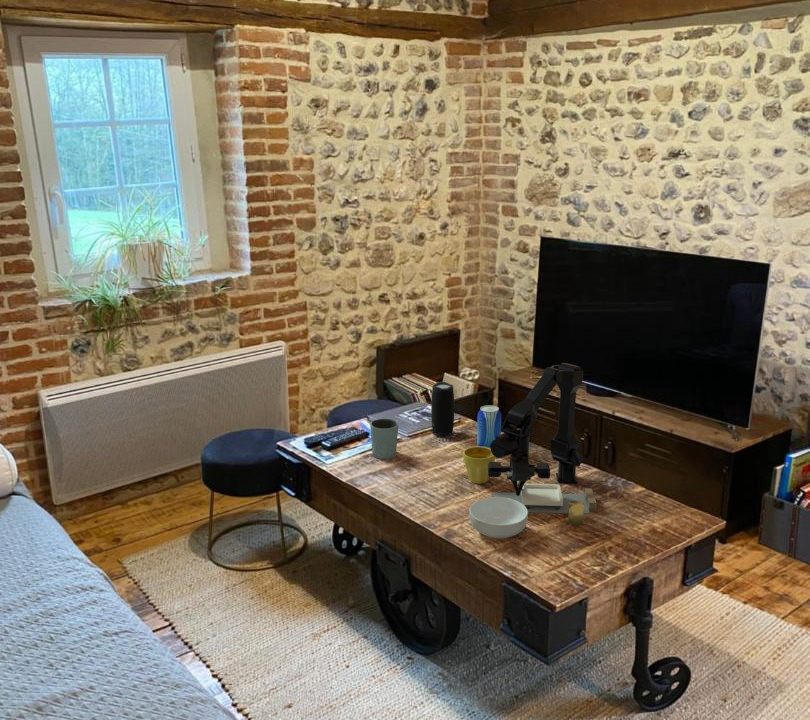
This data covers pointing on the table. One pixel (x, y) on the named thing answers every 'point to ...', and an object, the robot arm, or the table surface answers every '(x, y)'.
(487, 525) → the cereal bowl
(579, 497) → the mat
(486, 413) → the beer can
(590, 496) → the end stop
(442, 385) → the portable speaker
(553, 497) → the shallow square tray
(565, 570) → the table surface
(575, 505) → the solid brass cylinder
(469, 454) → the plant pot
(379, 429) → the green cup
